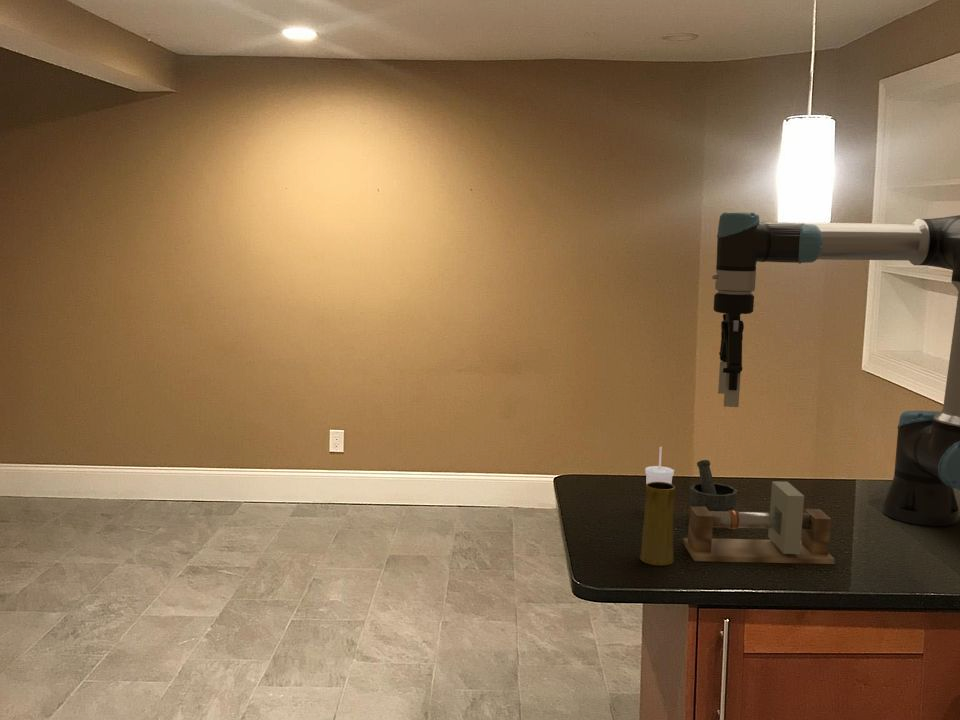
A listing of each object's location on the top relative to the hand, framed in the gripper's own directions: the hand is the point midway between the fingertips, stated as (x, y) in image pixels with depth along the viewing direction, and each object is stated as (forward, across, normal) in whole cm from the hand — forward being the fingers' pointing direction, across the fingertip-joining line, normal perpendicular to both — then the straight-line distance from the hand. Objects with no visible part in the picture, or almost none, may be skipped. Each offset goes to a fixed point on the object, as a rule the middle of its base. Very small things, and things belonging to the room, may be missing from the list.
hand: (727, 400), depth 194 cm
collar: (+26, +10, +11) cm, 29 cm away
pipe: (+23, +11, +6) cm, 26 cm away
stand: (+27, +11, +6) cm, 30 cm away
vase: (+27, +19, -13) cm, 36 cm away
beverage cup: (+27, -13, -12) cm, 33 cm away
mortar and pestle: (+28, -8, -1) cm, 29 cm away
